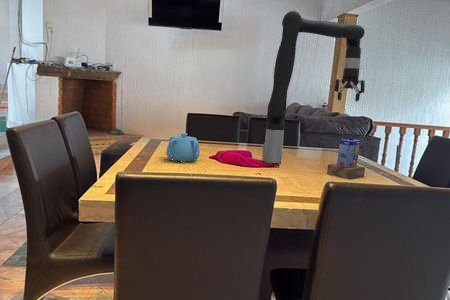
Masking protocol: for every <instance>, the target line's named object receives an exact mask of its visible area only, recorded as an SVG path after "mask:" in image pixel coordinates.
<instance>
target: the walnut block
mask: <svg viewBox="0 0 450 300" xmlns="http://www.w3.org/2000/svg"><path fill="white" fill-rule="evenodd" d="M326 170H327V171H326V175H330V176H333V177H337V178H342V179H346V180H357V179H359V178H360V179H361V178H364V177H365V171H366V167H365V166H361V165H357V166H353V167H347V168H345V167H342V166H338V165H337V162H336V163H331V164H327V169H326Z"/></svg>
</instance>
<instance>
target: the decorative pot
mask: <svg viewBox="0 0 450 300" xmlns="http://www.w3.org/2000/svg"><path fill="white" fill-rule="evenodd" d="M199 145H200V144H199V141H198V139H197V138H196V136H195V137H194V136H188V133H186V132H181V133H180V135H177V136H174V135H173V136H170V138H169V140H168V145H167V147H166V151H165V153H166V157H167V159H169V160H171V159H173V160H176V161H182V162H195V160H196V161H197V160H198V159H199V157H200V155H201V150H200V147H199Z"/></svg>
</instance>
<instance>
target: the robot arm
mask: <svg viewBox="0 0 450 300" xmlns="http://www.w3.org/2000/svg"><path fill="white" fill-rule="evenodd" d="M281 25H282V33H281V40H280V45H279V48H278V49H277V54H276V57H275V58H276V59H275V63H274V69H273V86H272V91H271V95H270V98H269V102H268V104H267V113H266V125H265V138H264V139H265V140H264V143H263V146H262V157H261V162H263V161H266V162H268V163H267V164H272V163H278V164H277V165H279V164H282V159H283V148H284V135H285V123H286V122H285V121H286V110H287V98H288V90H289V87H290V84H291V83H290V82H291V79H292V76H293V71H294V66H295V59H296V53H297V51H296V50H297V47H296V46H297V41H298V36H299V33H306V34H313V35H318V36H319V35H320V36H324V37H329V38H335V39H346V43H345V45H346V46H345V47H346V49H345V57H344V58H345V59H344V62H343V63H344V64H343V72H342V79H336V80H335V85H334V91H335V92H336V93H337V100H338V101H342V97H343V96H342V95H343V91H344V90H345V89H347V90H348V89H351V90H354V91H355V99H354V102H355V103H356V102H359V101H360V98H361V94H364V93H365V88H366V87H365V85H366V81H365V80H363V79H361V80H359V76H360V69H361V54H362V48H361V39H362V38H364V36H365V29H364V27H363V26H361V25H359V24H351V23H341V22H335V21H330V20H313V19H306V18H304V17H302V15H301V14H300V13H299V12H298V11H296V10H291V11H288V12H287V13H285V15H284V16H283V17H282V20H281ZM340 84H341V86H340ZM358 84H359V85H360V89H359V87H358ZM266 162H265V163H266Z"/></svg>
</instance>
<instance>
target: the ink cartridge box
mask: <svg viewBox="0 0 450 300" xmlns="http://www.w3.org/2000/svg"><path fill="white" fill-rule="evenodd" d="M355 138H356V134H354V135H351V136H350V137H349V138H343V139H339V146H338V154H337V161H336V163H337V165H338V166H342V167H345V168H347V167H353V166H358V160H359V152H360V148H361V146H360V145H361V140H360V139H355Z"/></svg>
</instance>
